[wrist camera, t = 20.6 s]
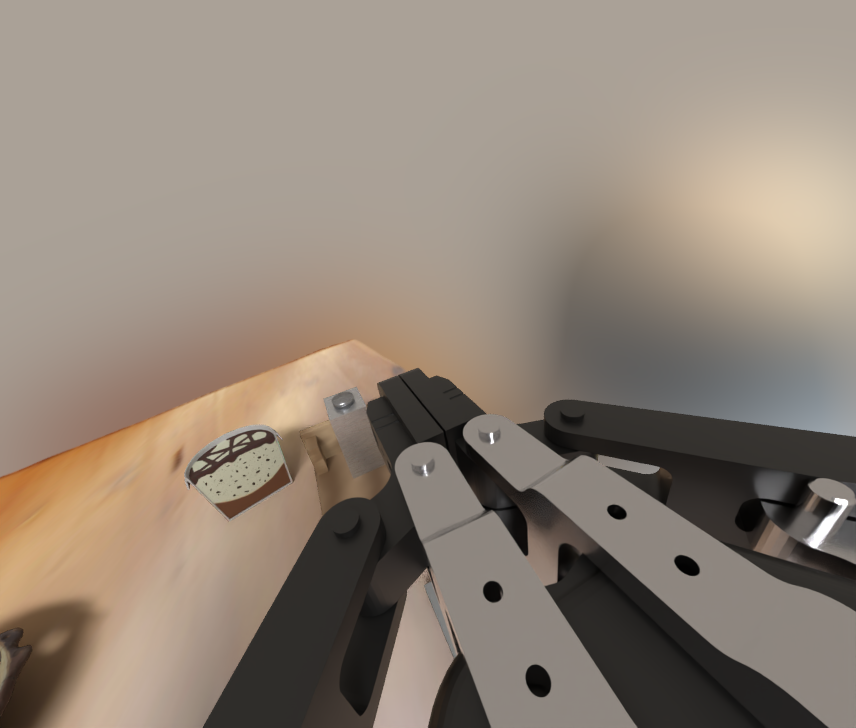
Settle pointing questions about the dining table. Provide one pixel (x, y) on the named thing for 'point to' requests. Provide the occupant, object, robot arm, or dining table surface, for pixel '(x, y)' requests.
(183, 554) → the dining table surface
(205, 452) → the food container
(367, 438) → the block
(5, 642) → the oil lamp
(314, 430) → the dock
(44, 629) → the dining table surface
